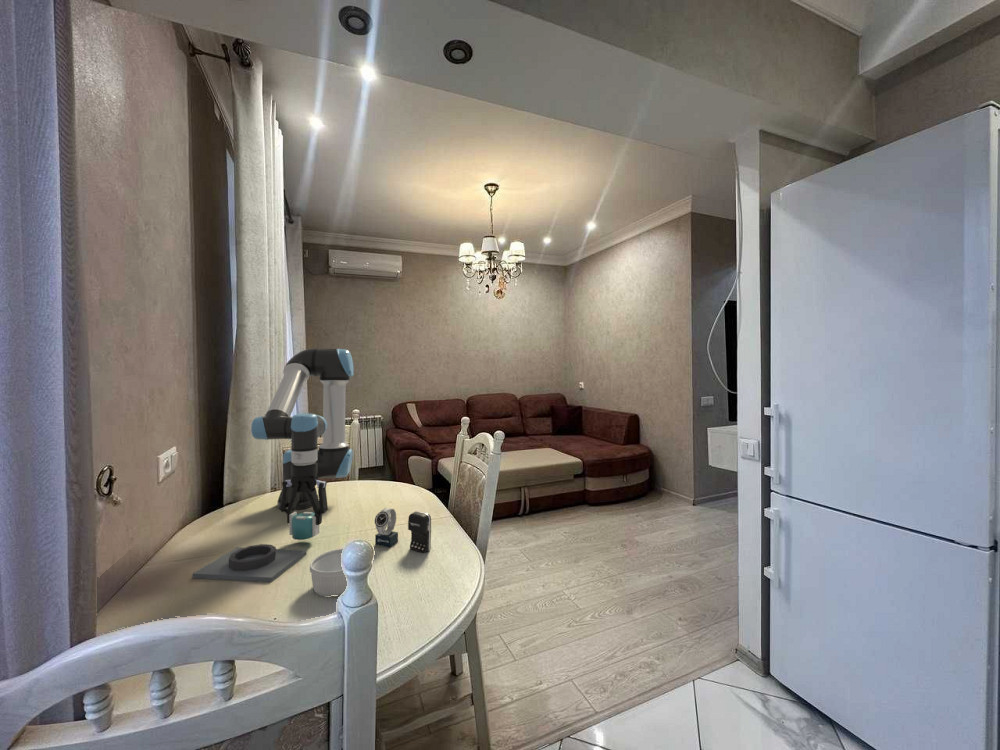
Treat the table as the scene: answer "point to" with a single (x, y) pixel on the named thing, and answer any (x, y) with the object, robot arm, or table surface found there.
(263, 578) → the plate with oval ring
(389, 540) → the watch
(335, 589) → the ramekin
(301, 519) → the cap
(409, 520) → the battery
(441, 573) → the table surface
